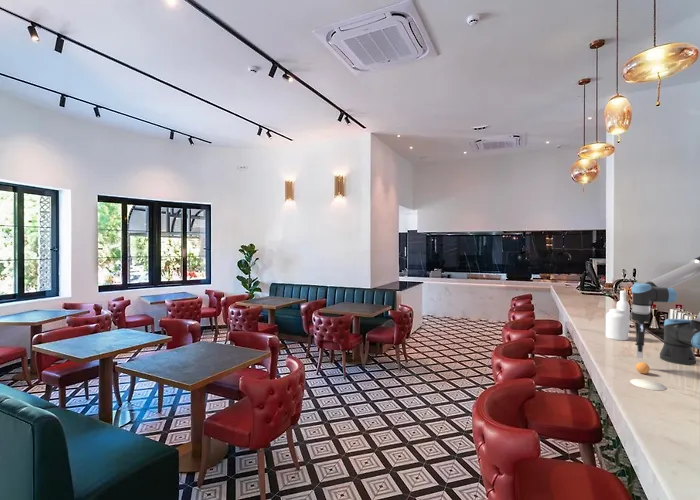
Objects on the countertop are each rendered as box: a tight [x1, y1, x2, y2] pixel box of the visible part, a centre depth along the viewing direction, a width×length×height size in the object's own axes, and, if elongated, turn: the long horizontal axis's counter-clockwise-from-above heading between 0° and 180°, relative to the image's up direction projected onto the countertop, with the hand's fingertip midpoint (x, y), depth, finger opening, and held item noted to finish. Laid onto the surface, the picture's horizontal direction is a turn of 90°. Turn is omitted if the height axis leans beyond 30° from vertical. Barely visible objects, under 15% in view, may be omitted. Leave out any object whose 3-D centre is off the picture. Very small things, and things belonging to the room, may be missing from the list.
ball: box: [635, 361, 651, 374], centre depth 183 cm, size 6×6×6 cm
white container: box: [605, 308, 629, 341], centre depth 248 cm, size 12×12×20 cm
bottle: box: [615, 290, 631, 334], centre depth 265 cm, size 8×8×30 cm
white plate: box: [629, 378, 667, 391], centre depth 169 cm, size 13×13×1 cm
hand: (639, 357), depth 191 cm, fingers closed
